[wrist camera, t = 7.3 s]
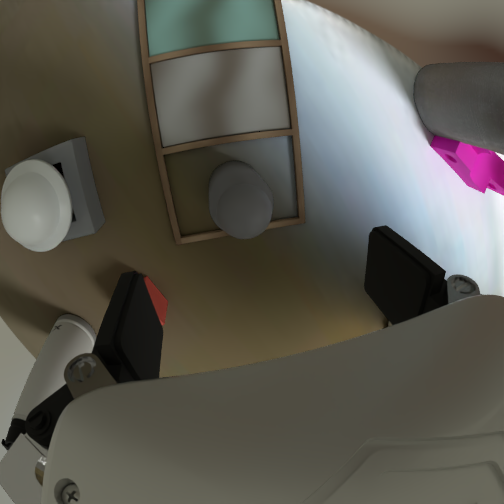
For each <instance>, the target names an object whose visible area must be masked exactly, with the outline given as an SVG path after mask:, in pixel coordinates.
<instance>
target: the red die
mask: <svg viewBox="0 0 504 504" xmlns="http://www.w3.org/2000/svg"><path fill="white" fill-rule="evenodd" d="M144 281H145V284H146V286H147V289H148V292H149V294H150V297H151V300H152V302H153V305H154V307H155V310H156V312H157V315H158V317H159V320H160V322H161V325H164V324H165V318H166V311H167V305H168V301H167V300H166V299H165V297H164V296H163V295H162V294H161V293H160V291H159V290H158V289H157V288H156V286H155V285H154V284H153V283H152V281H151V280H150V279H149V278H148V276H146V277H144Z"/></svg>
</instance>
